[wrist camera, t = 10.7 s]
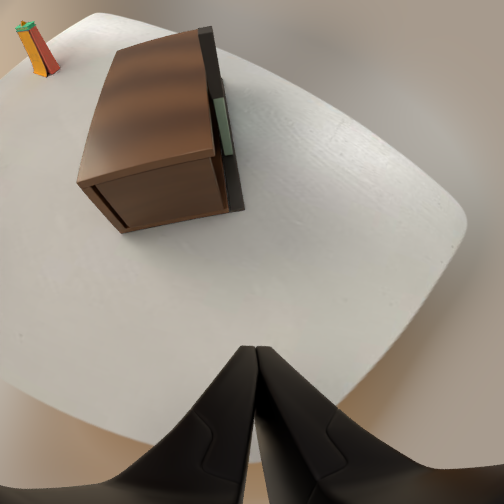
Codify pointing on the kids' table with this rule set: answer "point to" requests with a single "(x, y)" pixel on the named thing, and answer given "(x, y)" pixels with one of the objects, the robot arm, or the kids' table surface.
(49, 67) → the building blocks
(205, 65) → the sliding door
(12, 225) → the kids' table surface
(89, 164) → the cabinet
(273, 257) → the kids' table surface
